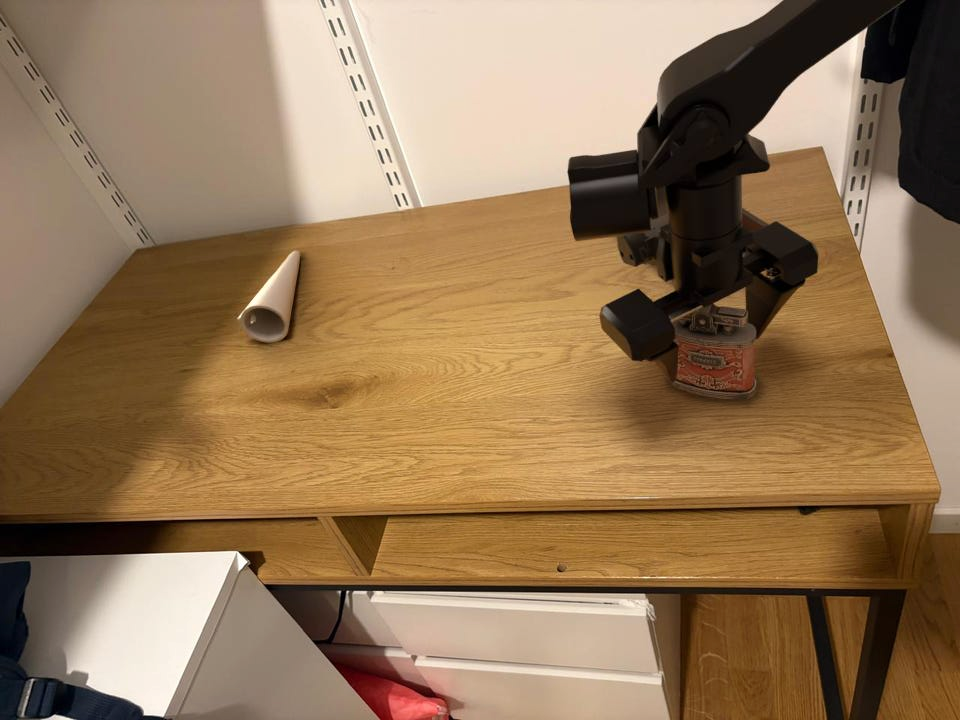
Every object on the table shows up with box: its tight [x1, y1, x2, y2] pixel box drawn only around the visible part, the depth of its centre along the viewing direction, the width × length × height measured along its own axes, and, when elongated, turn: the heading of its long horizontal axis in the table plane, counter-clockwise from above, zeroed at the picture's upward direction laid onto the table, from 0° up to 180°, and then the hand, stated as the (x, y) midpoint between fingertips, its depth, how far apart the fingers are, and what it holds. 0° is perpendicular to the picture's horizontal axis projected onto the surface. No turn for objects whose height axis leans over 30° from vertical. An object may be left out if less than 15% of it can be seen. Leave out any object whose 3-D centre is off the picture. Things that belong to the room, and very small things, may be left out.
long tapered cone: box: [236, 250, 301, 344], centre depth 101 cm, size 6×6×19 cm
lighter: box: [671, 303, 757, 400], centre depth 69 cm, size 8×3×10 cm, turn 62°
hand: (711, 358), depth 70 cm, fingers open, 9 cm apart
